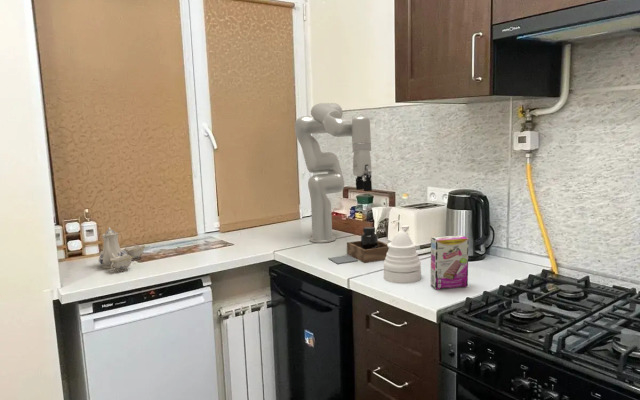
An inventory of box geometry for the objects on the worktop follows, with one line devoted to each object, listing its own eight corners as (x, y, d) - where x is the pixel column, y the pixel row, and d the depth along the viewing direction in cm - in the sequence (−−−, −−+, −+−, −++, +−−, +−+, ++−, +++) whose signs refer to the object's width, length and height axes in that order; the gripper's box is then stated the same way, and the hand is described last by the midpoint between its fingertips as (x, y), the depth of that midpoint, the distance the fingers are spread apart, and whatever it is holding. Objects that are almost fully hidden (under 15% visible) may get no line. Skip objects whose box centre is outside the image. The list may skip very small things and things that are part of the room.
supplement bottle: (377, 258, 196) (376, 229, 195) (360, 258, 198) (359, 229, 196) (378, 254, 203) (378, 226, 201) (362, 254, 204) (361, 226, 203)
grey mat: (328, 259, 198) (328, 257, 198) (348, 256, 202) (348, 255, 202) (337, 264, 190) (337, 263, 190) (358, 261, 193) (358, 260, 193)
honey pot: (400, 270, 179) (400, 222, 177) (428, 277, 169) (428, 226, 167) (376, 277, 171) (374, 227, 169) (403, 285, 161) (402, 232, 159)
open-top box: (347, 254, 205) (346, 242, 204) (374, 250, 210) (374, 238, 209) (364, 262, 190) (364, 250, 190) (393, 258, 195) (393, 246, 195)
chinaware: (133, 277, 190) (134, 235, 188) (88, 276, 187) (88, 233, 185) (146, 259, 217) (147, 222, 215) (107, 258, 214) (107, 221, 212)
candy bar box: (436, 290, 155) (435, 240, 153) (430, 285, 160) (429, 237, 158) (469, 287, 157) (469, 237, 155) (462, 282, 162) (462, 234, 160)
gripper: (346, 148, 203) (348, 189, 205) (359, 148, 187) (361, 192, 188) (363, 147, 205) (365, 188, 207) (378, 147, 188) (380, 191, 190)
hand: (363, 190), depth 198 cm, fingers open, 9 cm apart
